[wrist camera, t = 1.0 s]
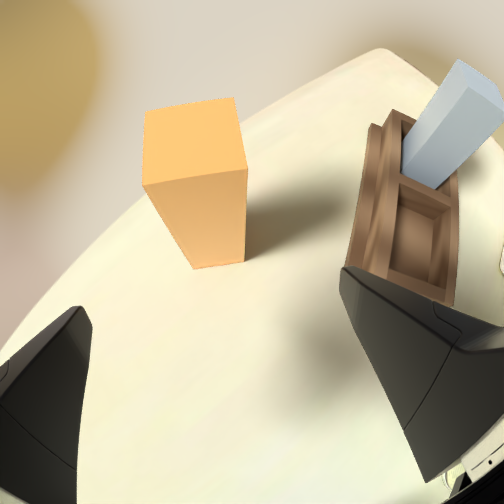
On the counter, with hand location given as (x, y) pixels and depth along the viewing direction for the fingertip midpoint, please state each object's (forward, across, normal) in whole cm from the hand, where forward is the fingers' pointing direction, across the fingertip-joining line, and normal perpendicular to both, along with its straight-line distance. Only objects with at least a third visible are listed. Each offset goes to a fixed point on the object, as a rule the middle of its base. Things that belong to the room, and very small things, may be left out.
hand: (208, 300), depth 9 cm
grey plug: (+16, -20, +1) cm, 25 cm away
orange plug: (+14, 0, +4) cm, 14 cm away
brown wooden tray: (+14, -18, +4) cm, 23 cm away
